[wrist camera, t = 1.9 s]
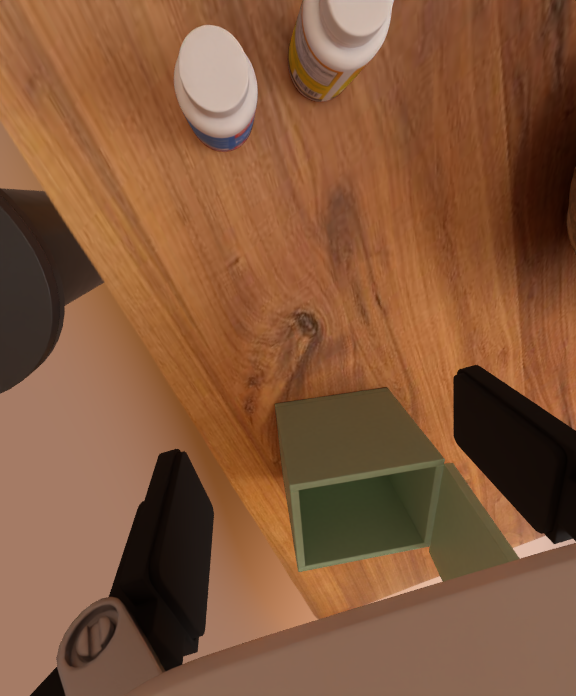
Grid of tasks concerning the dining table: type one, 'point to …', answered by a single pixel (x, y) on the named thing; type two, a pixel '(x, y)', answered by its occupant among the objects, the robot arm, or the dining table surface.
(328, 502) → the box
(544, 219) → the dining table surface
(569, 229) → the bowl
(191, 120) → the pill bottle
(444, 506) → the lid
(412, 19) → the dining table surface
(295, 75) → the supplement bottle
